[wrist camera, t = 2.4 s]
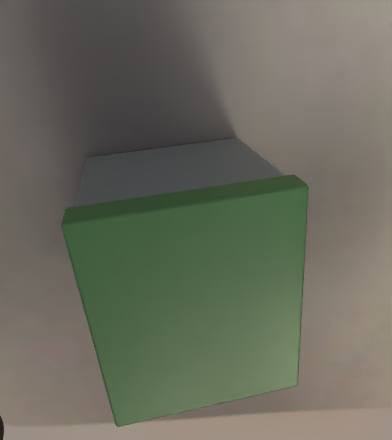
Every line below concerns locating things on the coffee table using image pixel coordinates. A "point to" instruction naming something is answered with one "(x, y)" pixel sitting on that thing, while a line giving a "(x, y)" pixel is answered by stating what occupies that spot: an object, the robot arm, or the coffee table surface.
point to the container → (189, 275)
